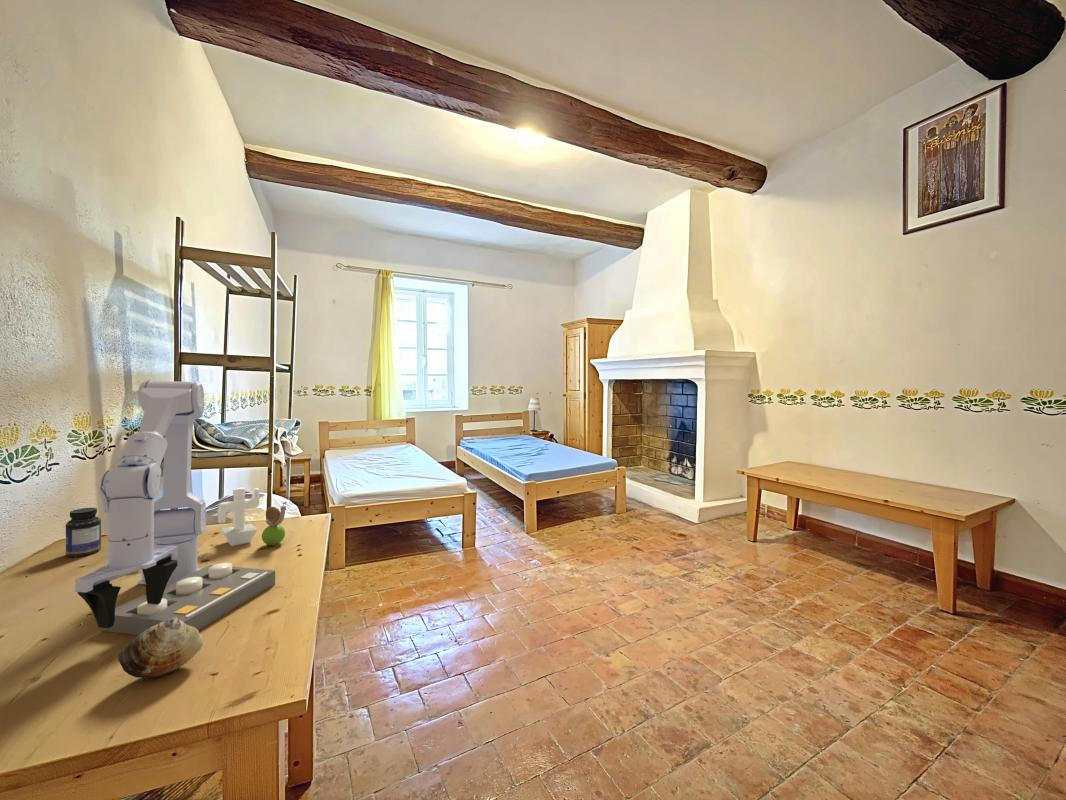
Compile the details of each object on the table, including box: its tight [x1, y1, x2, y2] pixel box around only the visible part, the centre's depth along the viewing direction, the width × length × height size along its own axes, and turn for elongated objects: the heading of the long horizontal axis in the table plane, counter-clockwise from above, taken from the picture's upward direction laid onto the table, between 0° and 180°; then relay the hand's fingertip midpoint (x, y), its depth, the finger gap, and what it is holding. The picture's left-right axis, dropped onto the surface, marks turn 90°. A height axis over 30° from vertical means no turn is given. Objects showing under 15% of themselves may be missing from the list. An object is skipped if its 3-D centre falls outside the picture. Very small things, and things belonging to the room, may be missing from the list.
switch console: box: [101, 564, 276, 636], centre depth 82 cm, size 16×21×3 cm
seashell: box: [117, 617, 204, 679], centre depth 62 cm, size 10×6×8 cm, turn 130°
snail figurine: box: [261, 501, 288, 546], centre depth 114 cm, size 5×6×12 cm
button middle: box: [176, 577, 202, 596], centre depth 82 cm, size 4×4×3 cm
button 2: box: [209, 562, 233, 580], centre depth 89 cm, size 4×4×3 cm
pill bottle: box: [65, 507, 102, 558], centre depth 106 cm, size 6×6×11 cm
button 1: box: [137, 598, 167, 615], centre depth 75 cm, size 4×4×3 cm
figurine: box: [217, 487, 261, 547], centre depth 115 cm, size 7×9×15 cm
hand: (131, 614), depth 72 cm, fingers open, 7 cm apart
